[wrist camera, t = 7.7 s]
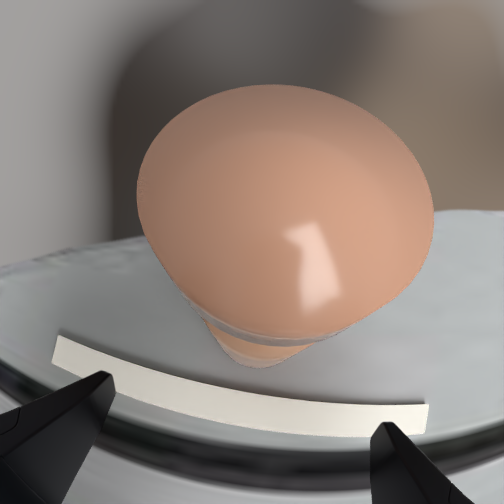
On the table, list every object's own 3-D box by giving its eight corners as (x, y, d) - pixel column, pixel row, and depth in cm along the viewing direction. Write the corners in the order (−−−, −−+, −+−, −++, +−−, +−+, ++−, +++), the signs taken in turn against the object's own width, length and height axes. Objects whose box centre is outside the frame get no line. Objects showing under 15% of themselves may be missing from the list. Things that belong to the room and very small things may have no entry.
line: (54, 363, 14) (51, 362, 14) (61, 336, 15) (58, 334, 15) (421, 432, 13) (424, 433, 13) (425, 404, 14) (428, 404, 14)
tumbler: (218, 374, 15) (129, 346, 3) (209, 288, 17) (152, 96, 5) (310, 362, 15) (472, 290, 4) (295, 278, 18) (370, 89, 6)
